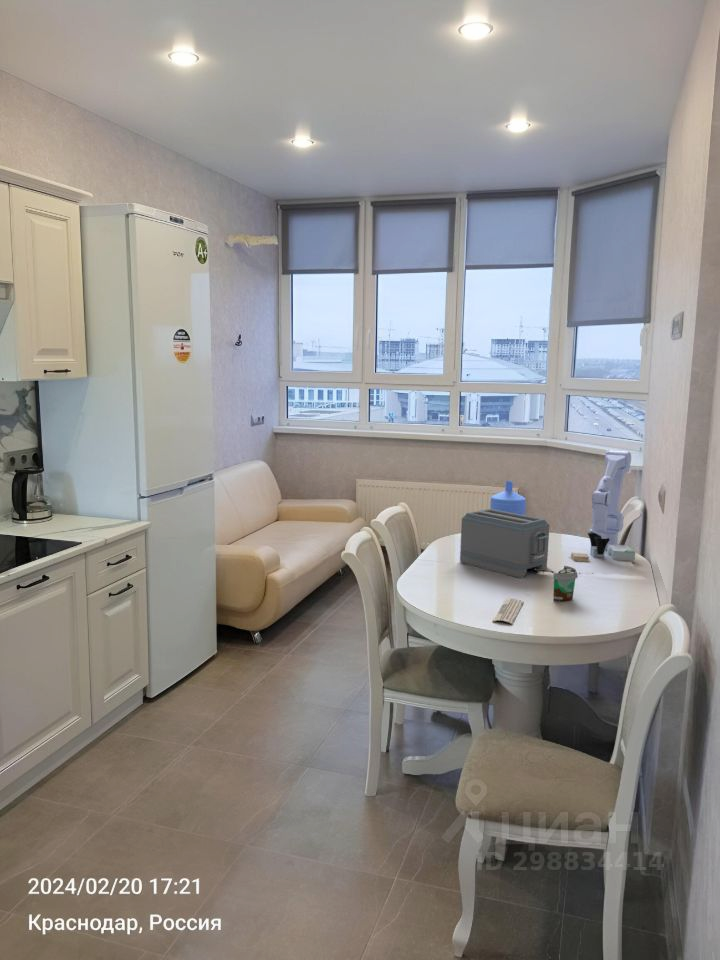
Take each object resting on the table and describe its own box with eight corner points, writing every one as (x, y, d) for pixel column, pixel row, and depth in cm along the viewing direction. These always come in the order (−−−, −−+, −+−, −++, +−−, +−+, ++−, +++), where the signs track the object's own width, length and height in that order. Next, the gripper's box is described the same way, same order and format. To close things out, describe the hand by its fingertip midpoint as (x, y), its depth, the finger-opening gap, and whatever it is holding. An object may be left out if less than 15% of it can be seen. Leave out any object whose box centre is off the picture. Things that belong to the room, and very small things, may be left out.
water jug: (527, 547, 320) (530, 484, 316) (491, 546, 320) (494, 484, 316) (519, 539, 335) (523, 479, 331) (485, 538, 335) (488, 478, 331)
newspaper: (512, 627, 222) (512, 621, 221) (488, 624, 224) (489, 618, 224) (523, 604, 244) (523, 599, 243) (502, 602, 246) (502, 596, 246)
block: (589, 557, 305) (590, 546, 304) (600, 558, 305) (601, 546, 304) (593, 560, 301) (594, 548, 300) (603, 560, 301) (604, 548, 300)
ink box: (614, 550, 297) (607, 543, 309) (612, 562, 298) (606, 554, 309) (635, 551, 296) (628, 544, 308) (634, 564, 297) (627, 556, 309)
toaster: (528, 581, 269) (531, 527, 266) (458, 562, 293) (460, 512, 290) (556, 572, 281) (559, 520, 278) (486, 555, 306) (489, 507, 303)
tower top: (571, 556, 300) (571, 552, 300) (586, 557, 299) (586, 553, 299) (573, 560, 294) (573, 555, 294) (588, 561, 293) (588, 556, 293)
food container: (570, 605, 242) (572, 576, 240) (552, 602, 245) (553, 573, 243) (580, 596, 252) (582, 568, 251) (562, 592, 255) (564, 565, 254)
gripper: (584, 516, 308) (582, 547, 309) (595, 523, 293) (593, 556, 295) (601, 516, 308) (599, 547, 310) (613, 523, 293) (610, 556, 295)
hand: (597, 551), depth 302 cm, fingers open, 7 cm apart
